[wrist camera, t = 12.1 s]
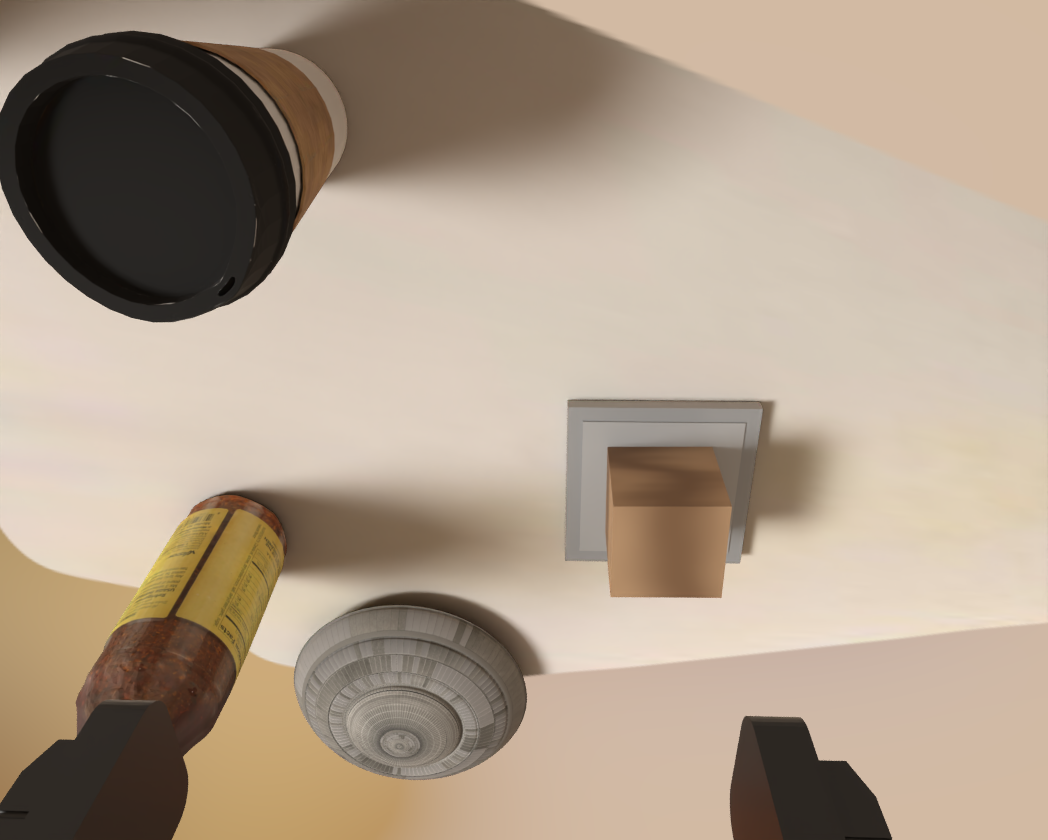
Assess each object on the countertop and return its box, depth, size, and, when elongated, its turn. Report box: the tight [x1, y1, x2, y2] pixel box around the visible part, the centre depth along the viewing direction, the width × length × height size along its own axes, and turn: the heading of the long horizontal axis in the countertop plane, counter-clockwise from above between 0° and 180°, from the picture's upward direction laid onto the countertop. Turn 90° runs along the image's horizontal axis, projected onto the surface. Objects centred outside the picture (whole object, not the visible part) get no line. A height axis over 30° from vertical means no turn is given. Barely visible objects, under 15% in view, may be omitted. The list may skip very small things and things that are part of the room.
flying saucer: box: [294, 605, 527, 780], centre depth 50 cm, size 15×15×6 cm
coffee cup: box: [0, 31, 347, 322], centre depth 29 cm, size 8×8×15 cm
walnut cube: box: [605, 447, 732, 598], centre depth 41 cm, size 6×6×6 cm
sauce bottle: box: [76, 495, 287, 756], centre depth 38 cm, size 6×6×20 cm
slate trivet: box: [565, 400, 763, 563], centre depth 44 cm, size 10×10×1 cm
